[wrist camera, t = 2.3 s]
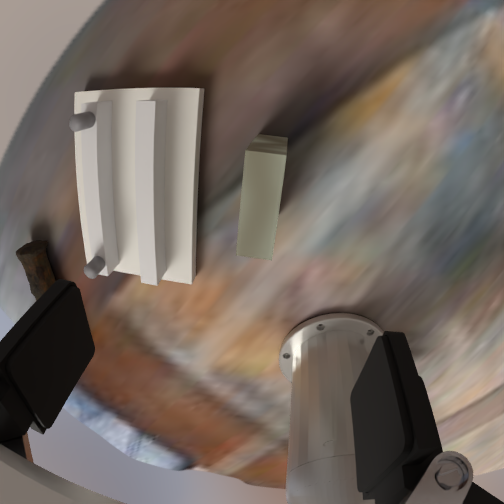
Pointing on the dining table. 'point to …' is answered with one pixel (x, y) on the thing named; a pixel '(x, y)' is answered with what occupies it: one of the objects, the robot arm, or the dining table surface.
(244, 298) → the dining table surface
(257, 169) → the rectangular block
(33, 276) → the hand tool
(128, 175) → the slider channel
